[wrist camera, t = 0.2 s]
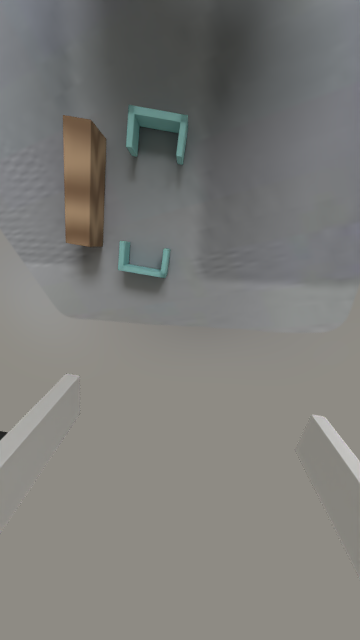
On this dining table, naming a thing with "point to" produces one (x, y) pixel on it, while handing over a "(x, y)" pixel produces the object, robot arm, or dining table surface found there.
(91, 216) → the batten
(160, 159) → the dining table surface
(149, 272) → the pair of teal brackets
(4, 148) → the dining table surface
